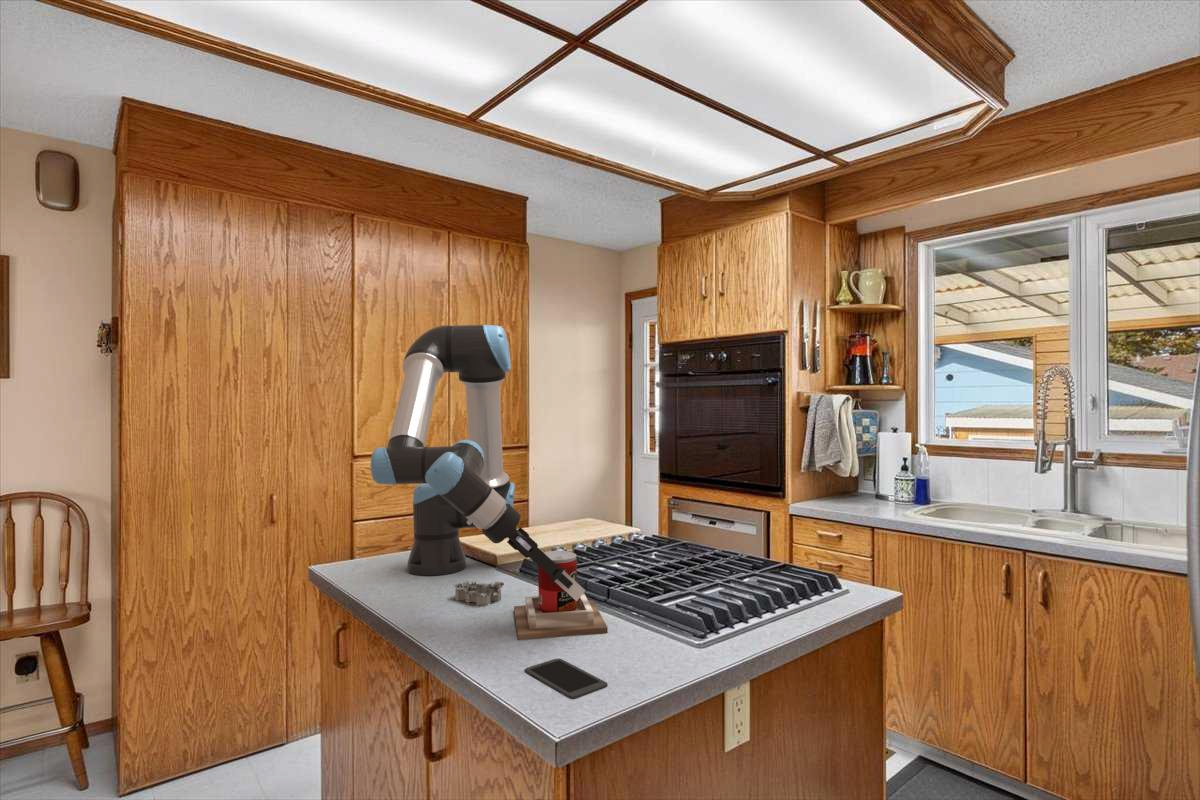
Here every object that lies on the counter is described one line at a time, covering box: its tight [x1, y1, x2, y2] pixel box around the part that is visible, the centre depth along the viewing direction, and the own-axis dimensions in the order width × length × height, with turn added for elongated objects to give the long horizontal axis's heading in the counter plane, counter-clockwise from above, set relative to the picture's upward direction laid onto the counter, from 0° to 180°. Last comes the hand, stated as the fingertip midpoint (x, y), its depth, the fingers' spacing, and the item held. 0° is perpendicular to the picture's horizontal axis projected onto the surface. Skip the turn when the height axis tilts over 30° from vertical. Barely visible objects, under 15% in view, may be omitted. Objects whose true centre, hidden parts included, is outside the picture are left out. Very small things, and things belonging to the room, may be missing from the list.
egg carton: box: [452, 580, 505, 606], centre depth 151 cm, size 11×8×4 cm
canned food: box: [537, 550, 578, 613], centre depth 135 cm, size 8×8×11 cm
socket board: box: [513, 592, 609, 641], centre depth 135 cm, size 17×17×4 cm
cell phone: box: [524, 657, 609, 700], centre depth 108 cm, size 7×14×1 cm, turn 39°
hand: (573, 589), depth 136 cm, fingers closed on canned food, 8 cm apart
